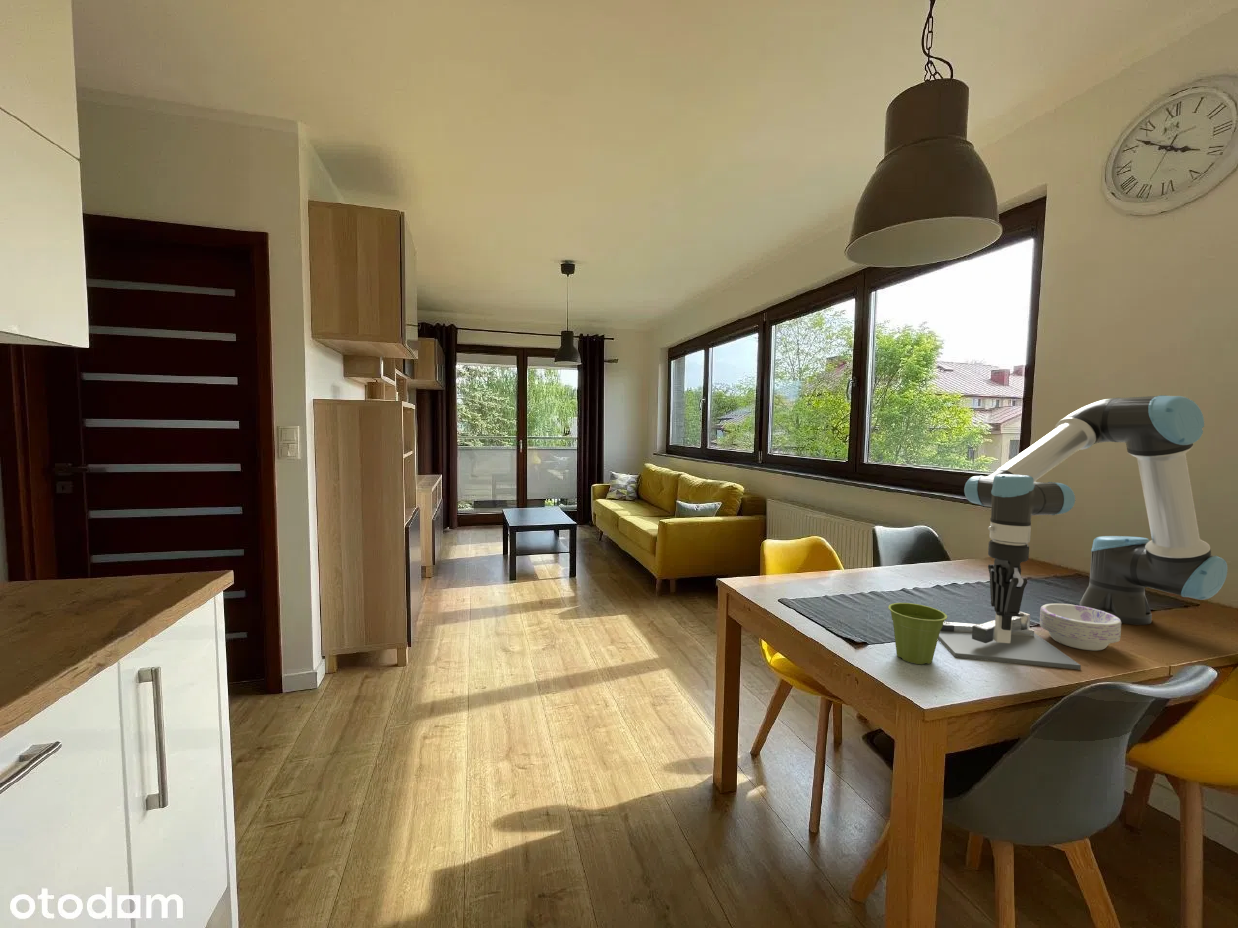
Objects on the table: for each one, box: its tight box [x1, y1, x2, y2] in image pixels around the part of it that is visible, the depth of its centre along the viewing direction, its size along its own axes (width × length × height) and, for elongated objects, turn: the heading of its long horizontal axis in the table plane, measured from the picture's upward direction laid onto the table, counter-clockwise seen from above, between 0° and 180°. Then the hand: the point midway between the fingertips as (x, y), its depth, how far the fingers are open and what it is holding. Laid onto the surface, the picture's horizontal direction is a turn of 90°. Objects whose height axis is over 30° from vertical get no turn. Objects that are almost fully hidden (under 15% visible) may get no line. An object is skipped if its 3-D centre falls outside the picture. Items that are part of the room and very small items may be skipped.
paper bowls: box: [1039, 603, 1122, 651], centre depth 131 cm, size 15×15×8 cm
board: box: [938, 631, 1082, 670], centre depth 130 cm, size 25×21×1 cm
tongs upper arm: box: [972, 611, 1031, 643], centre depth 130 cm, size 22×4×4 cm, turn 119°
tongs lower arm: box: [940, 620, 1035, 637], centre depth 135 cm, size 22×3×2 cm, turn 81°
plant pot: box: [887, 602, 948, 665], centre depth 121 cm, size 12×12×11 cm
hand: (1002, 641), depth 122 cm, fingers closed
